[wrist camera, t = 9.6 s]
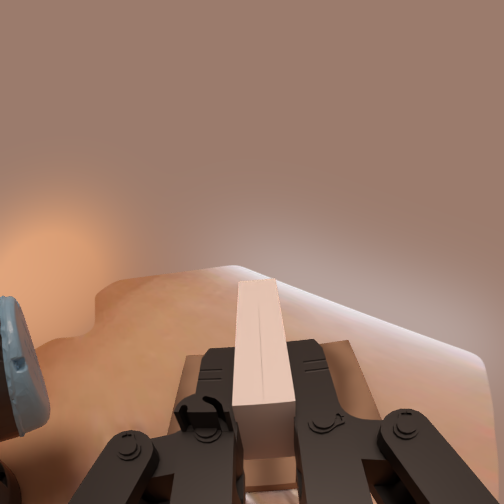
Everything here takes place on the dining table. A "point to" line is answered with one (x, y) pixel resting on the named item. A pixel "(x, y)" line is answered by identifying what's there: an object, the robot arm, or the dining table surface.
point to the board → (284, 469)
